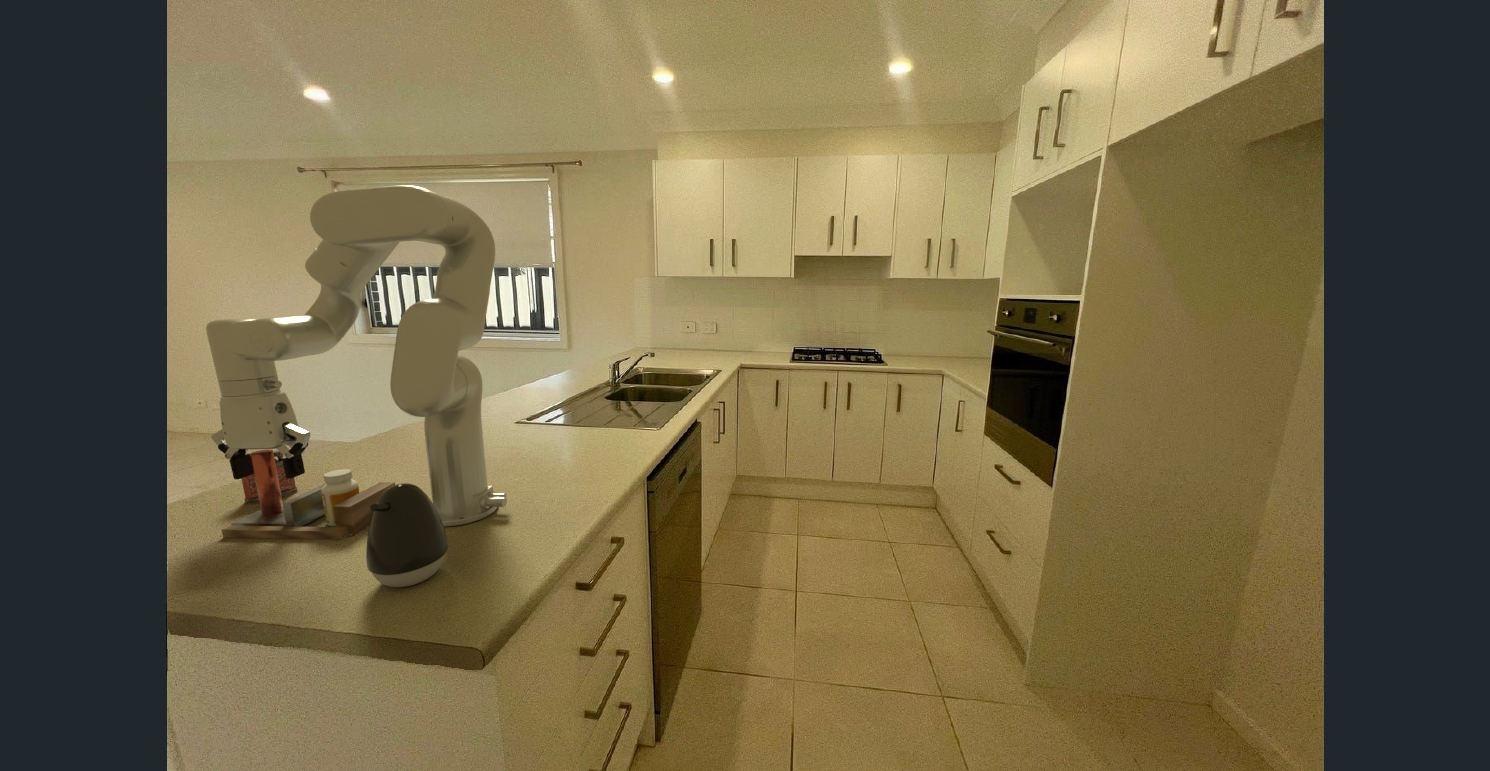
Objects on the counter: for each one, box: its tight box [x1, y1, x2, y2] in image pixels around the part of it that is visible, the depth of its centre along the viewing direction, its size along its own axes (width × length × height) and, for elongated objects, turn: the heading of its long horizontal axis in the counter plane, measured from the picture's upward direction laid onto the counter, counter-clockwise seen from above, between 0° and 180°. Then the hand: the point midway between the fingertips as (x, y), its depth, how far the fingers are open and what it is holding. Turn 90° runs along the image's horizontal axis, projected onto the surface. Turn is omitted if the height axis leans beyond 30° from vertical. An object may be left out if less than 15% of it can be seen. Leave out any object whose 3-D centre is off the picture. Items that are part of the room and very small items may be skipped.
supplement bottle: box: [321, 468, 360, 527], centre depth 90 cm, size 5×5×10 cm
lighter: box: [240, 450, 299, 504], centre depth 100 cm, size 8×3×10 cm, turn 144°
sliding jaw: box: [230, 449, 327, 527], centre depth 89 cm, size 12×9×13 cm
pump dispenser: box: [365, 482, 449, 588], centre depth 72 cm, size 10×10×15 cm
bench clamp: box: [221, 481, 396, 540], centre depth 90 cm, size 22×14×6 cm, turn 90°
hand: (270, 476), depth 89 cm, fingers open, 9 cm apart
